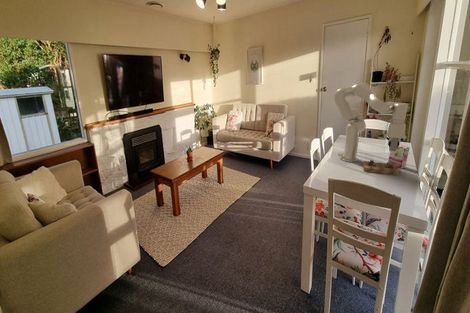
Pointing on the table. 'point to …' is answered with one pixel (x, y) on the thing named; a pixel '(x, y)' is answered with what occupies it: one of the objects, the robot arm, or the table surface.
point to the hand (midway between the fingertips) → (393, 146)
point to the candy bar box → (399, 156)
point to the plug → (393, 145)
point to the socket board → (380, 167)
